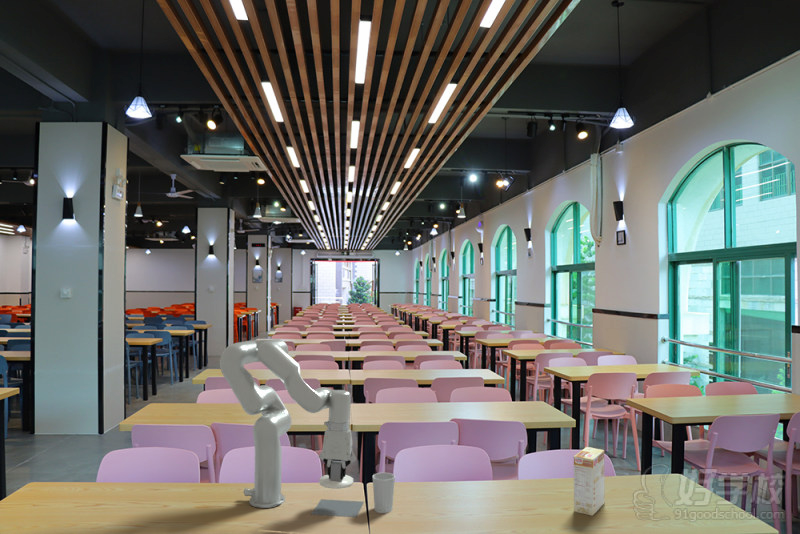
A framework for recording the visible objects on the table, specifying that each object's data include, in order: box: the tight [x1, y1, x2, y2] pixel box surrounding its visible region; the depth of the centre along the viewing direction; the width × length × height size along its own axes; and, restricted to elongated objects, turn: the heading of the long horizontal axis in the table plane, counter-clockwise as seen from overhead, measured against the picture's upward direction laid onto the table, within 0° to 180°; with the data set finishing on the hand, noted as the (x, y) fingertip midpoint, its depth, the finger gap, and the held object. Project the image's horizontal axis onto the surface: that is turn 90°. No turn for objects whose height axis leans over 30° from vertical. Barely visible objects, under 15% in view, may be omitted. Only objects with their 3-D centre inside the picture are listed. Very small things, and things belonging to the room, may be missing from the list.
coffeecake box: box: [573, 446, 606, 517], centre depth 206 cm, size 15×7×20 cm, turn 145°
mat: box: [310, 498, 365, 518], centre depth 202 cm, size 16×14×1 cm
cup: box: [372, 472, 396, 514], centre depth 201 cm, size 8×8×12 cm
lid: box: [318, 460, 354, 490], centre depth 202 cm, size 12×12×7 cm
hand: (336, 477), depth 202 cm, fingers closed on lid, 3 cm apart
